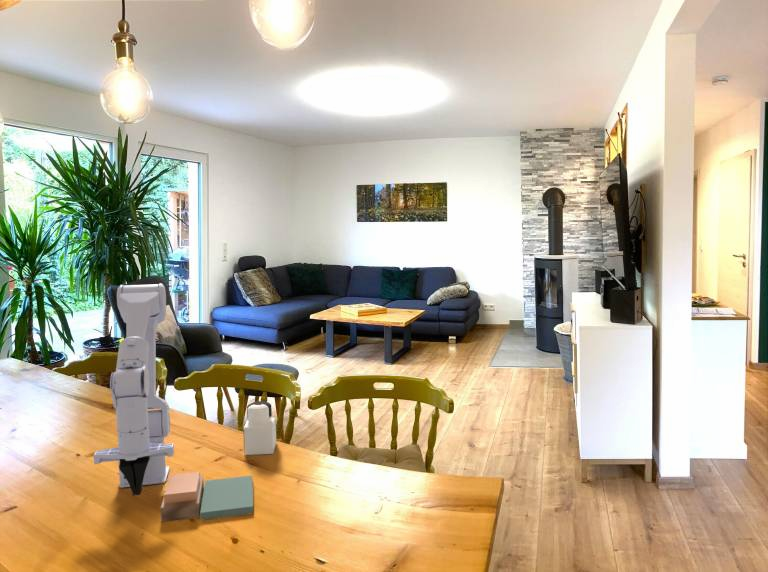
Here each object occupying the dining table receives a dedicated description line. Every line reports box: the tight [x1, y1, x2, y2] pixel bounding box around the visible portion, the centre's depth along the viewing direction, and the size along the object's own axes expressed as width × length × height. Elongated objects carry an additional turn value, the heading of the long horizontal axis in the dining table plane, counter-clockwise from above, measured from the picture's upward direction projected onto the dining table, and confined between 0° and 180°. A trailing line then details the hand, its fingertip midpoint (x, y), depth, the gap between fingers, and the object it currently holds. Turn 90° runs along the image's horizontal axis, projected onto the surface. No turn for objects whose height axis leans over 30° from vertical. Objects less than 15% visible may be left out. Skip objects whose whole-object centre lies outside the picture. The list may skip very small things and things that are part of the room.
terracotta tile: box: [163, 471, 201, 504], centre depth 116 cm, size 6×9×2 cm, turn 13°
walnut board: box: [160, 475, 205, 523], centre depth 116 cm, size 7×12×3 cm, turn 13°
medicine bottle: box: [242, 400, 277, 456], centre depth 144 cm, size 7×7×12 cm
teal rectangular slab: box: [199, 475, 254, 521], centre depth 119 cm, size 10×14×2 cm
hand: (137, 493), depth 114 cm, fingers closed
